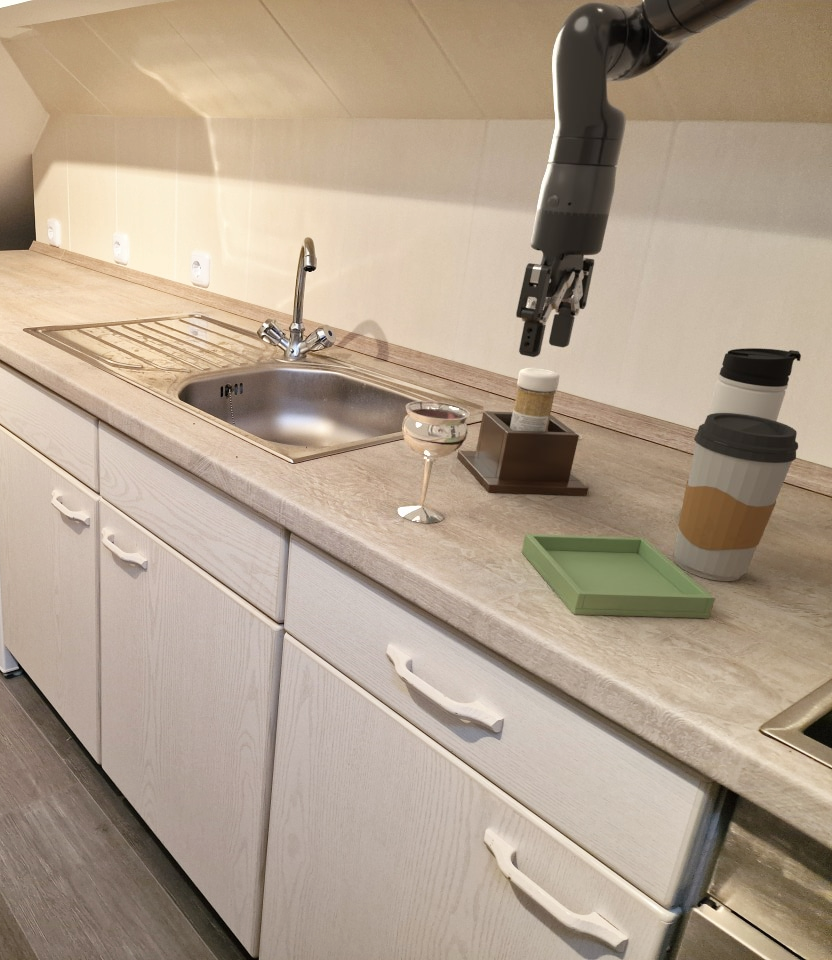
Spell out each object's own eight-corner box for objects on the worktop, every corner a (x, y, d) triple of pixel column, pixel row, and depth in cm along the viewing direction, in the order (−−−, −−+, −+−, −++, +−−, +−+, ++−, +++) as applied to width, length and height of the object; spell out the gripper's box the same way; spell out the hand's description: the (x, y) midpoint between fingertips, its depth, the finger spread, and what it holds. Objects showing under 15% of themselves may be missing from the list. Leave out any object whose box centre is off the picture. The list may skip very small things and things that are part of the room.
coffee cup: (771, 574, 84) (819, 430, 79) (732, 595, 80) (780, 444, 74) (686, 542, 90) (725, 406, 85) (645, 560, 86) (683, 418, 80)
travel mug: (746, 540, 91) (804, 358, 84) (677, 525, 94) (728, 348, 87) (744, 521, 97) (799, 347, 89) (679, 507, 100) (727, 338, 92)
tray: (639, 556, 87) (644, 537, 86) (708, 618, 75) (715, 597, 75) (521, 552, 86) (525, 533, 86) (573, 614, 75) (578, 593, 74)
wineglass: (378, 503, 96) (393, 401, 92) (431, 499, 98) (448, 399, 94) (409, 528, 90) (425, 421, 86) (464, 524, 92) (483, 418, 88)
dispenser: (546, 460, 113) (557, 410, 110) (587, 495, 102) (600, 440, 99) (456, 457, 112) (465, 406, 110) (488, 492, 101) (498, 436, 99)
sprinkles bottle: (541, 474, 108) (563, 370, 103) (534, 485, 104) (556, 378, 99) (503, 466, 110) (523, 364, 105) (496, 476, 106) (516, 371, 101)
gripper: (582, 212, 88) (550, 366, 94) (630, 209, 97) (598, 348, 103) (513, 206, 92) (486, 352, 99) (564, 203, 102) (538, 337, 108)
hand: (544, 350), depth 101 cm, fingers open, 8 cm apart
